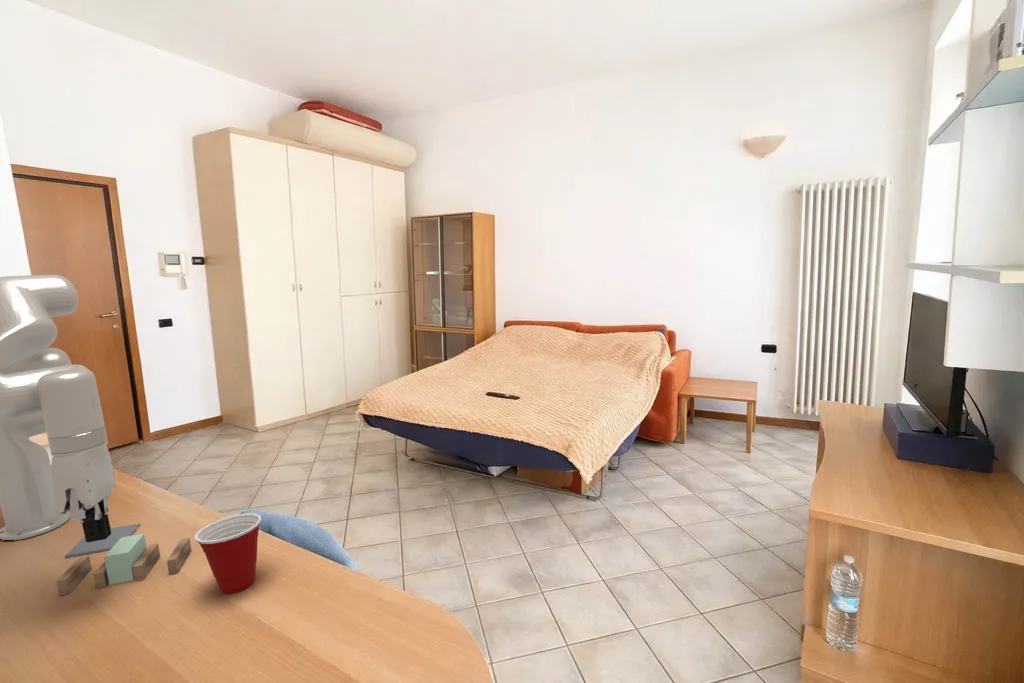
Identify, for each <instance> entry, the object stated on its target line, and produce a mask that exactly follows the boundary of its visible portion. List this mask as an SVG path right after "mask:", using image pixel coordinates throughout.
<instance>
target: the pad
mask: <svg viewBox="0 0 1024 683" xmlns="http://www.w3.org/2000/svg"><path fill="white" fill-rule="evenodd" d="M140 525H141V523H136V524H135V523H134V524H129V525H124V526H118V527H112V528H111V527H110V528H111V534H110V536H108V538H107V539H104V540H99V541H93V542H86V540H85V536H84V537H83V538H81V540H79V541H78V542H77V544H76V545H74V546H73V548H71V549H70V550H69V551H68V552H67V553H65V555H64V559H68V558H72V557H73V558H74V557H79V556H80V557H81V556H83V555H84V556H86V555H90V554H94V553H95V554H97V553H101V552H106V551H107V552H109V550H110V549H111V548H112V547H113V546H114V545H115V544H116V543H117V542H118V541H119V539H120V538H122V537H127V536H131V535H132V534H133V533H134V534H135V532H137V530H138V529H139V528H140V527H141V526H140ZM139 526H140V527H139ZM138 527H139V528H138ZM137 528H138V529H137ZM136 529H137V530H136ZM134 534H133V535H134ZM133 535H132V536H133Z"/></svg>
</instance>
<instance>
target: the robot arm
mask: <svg viewBox="0 0 1024 683" xmlns="http://www.w3.org/2000/svg"><path fill="white" fill-rule="evenodd" d="M78 306H79V295H78V291H77V290H76V288H75V286H74V284H73V283H72V282H71V281H70V280H69V279H68V278H67V277H64V276H63V275H59V274H35V275H30V274H29V275H10V276H9V275H8V276H0V510H1V513H2V517H3V518H2V519H3V520H4V526H3V527H1V528H0V539H2V540H1V541H3V540H14V541H19V540H23V539H29V538H32V537H36V536H39V535H42V534H45V533H47V532H48V533H49V531H52V530H54V529H57V528H58V527H61V526H62V525H64V524H65V523H66V522H68V521H69V519H70V521H71V522H75V521H79V523H81V525H82V530H83V534H84V537H85V540H86V542H93V541H99V540H104V539H107V538H108V536H110V534H111V522H110V519H109V518H110V517H109V515H108V512H109V505H108V503H109V502H108V500H109V497H110V496H111V494H112V492H113V491H114V489H116V486H117V485H116V483H117V481H116V474H115V470H114V464H113V461H112V458H111V454H110V451H109V447H108V444H109V441H108V440H109V439H108V434H107V430H106V424H105V421H104V416H103V410H102V405H101V399H100V394H99V390H98V389H99V388H98V385H97V380H96V376H95V374H94V372H93V371H92V370H90V369H89V368H88V367H87V366H84V365H82V364H72V360H71V359H70V356H69V355H68V353H66V352H65V351H64V350H62V349H60V348H57V347H56V348H55V347H50V346H51V345H52V344H53V343H54V342H55V341H56V339H57V337H58V328H57V326H56V324H55V322H54V320H53V319H52V318H57V317H58V318H59V317H63V316H68V315H72V314H73V313H75V312H76V311H77V309H78ZM41 434H46V436H47V441H48V445H49V450H50V451H49V452H50V454H51V457H52V458H51V461H50V456H49V453H48V451H47V449H46V448H45V447H44V446H43V445H41V444H39V443H37V442H35V441H33V440H30V438H31V437H32V438H33V437H35V436H37V435H41ZM69 510H70V511H69Z"/></svg>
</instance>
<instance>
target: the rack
mask: <svg viewBox="0 0 1024 683" xmlns="http://www.w3.org/2000/svg"><path fill="white" fill-rule="evenodd" d="M175 546H176V547H174V549H173V550H172V552H171V554H170V556H169V557H168V558H167V559H166V563H167V568H168V569H167V570H168V574H169V575H174V574H178V573H179V572H180V571H181V569H182V568H183V566H184V565H185V563H186V561H187V559H188V558H189V555H191V553H190V552H192V551H193V550H192V544H191V540H190V537H186V538H182V539H180V540H179V541H178V543H177V545H175ZM160 553H161V552H160V547H159V543H153V544H149V545H148V546H147V549H146V550H145V552H144V553H143V554H142V555H141V557H140V558H139V559H138V560H137V562H136V563H135V564H134V566H133V567H132V568H133V573H134V578H135V579H134V582H138V581H139V582H140V581H143V580H145V579H146V577H147V576H148V575H149V573H150V572H151V571H152V569H153V568H154V566H155V564H157V562H158V561H157V560H159V559H160V558H161V554H160ZM159 557H160V558H159ZM92 570H93V568H92V563H91V558H90V555H84V556H80V557H79V558H78V559H77V560H76V561H75V562H73V564H71V565H70V566H69V568H68V569H67V570H66V571H65V572H64V573H63V574H62V575H61V576H60V577H59V578H58V579H57V580H56V587H57V591H58V595H59V597H61V596H66V595H70V594H71V593H72V591H73V590H74V589H75V588H76V587H77V586H78V585H79V584H80V583H81V582H82V580H83V579H85V578H86V576H87V575H88V574H89V573H90V572H91V571H92ZM92 575H93V580H94V585H95V588H96V589H102V588H106V587H107V586H108V585H109V580H108V575H107V570H106V565H105V561H103V563H102V564H101V565H100V566H99V567H98V568H97V570H95V572H94V573H93V574H92Z"/></svg>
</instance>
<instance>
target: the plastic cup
mask: <svg viewBox="0 0 1024 683" xmlns="http://www.w3.org/2000/svg"><path fill="white" fill-rule="evenodd" d="M261 522H262V516H261V515H260V514H257V513H255V512H254V513H251V512H249V513H248V512H247V513H246V512H245V513H240V514H234V515H230V516H226V517H224V518H221V519H218V520H215V521H213V522H211V523H209V524H206V526H203V527H202V528H200V529H199V530H198V531H197V532H196V533H195V534H194V540H195V542H197V543H198V544H199V545H200V547H201V549H202V551H203V553H204V555H205V558H206V559H207V562H208V565H209V567H210V570H211V572H212V575H213V578H214V579H215V582H216V583H217V586H218V589H219V590H220V592H222V593H223V594H228V595H230V594H237V593H239V592H242V591H243V590H246V589H247V588H249V587H251V585H253V584H254V582H255V580H256V579H255V578H256V576H257V575H256V573H257V570H256V569H257V568H256V567H257V561H258V560H257V559H258V537H259V530H260V523H261Z"/></svg>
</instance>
